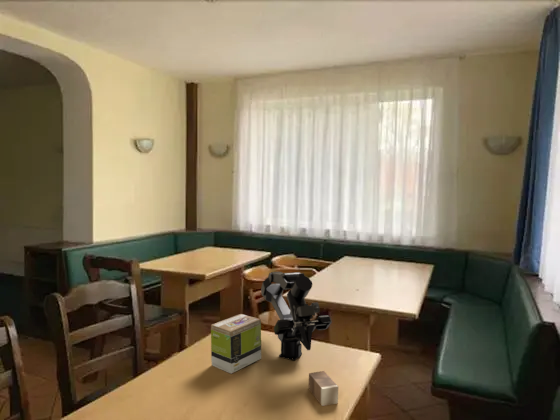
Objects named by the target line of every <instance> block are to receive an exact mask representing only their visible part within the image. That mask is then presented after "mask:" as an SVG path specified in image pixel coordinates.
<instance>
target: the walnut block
mask: <svg viewBox="0 0 560 420" xmlns="http://www.w3.org/2000/svg"><path fill="white" fill-rule="evenodd" d="M308 390H309V392H311V394H312V396H314V398H315V399H316V400H317V401H318V404H320V405H321V407H322V406H328V405H335V404H338V403H339V385H337V383H336V382H335V381H334V380H333V379H332V377H330V376H329V374H327V372H326V371H325V370H322V371H316V372H309V373H308Z"/></svg>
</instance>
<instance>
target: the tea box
mask: <svg viewBox="0 0 560 420" xmlns="http://www.w3.org/2000/svg"><path fill="white" fill-rule="evenodd" d="M261 324H262V323H261V319H260V318H257V317H253V316H249V315H246V314H243V313H240V314H236V315H234V316H231V317H229V318H226V319H223V320H220V321H218V322H216V323H212V324H211V325H210V342H211V343H210V345H211V346H210V347H211V348H210V352H211V357H210V358H211V366H212V367H214V368H216V369H219V370H221V371H224V372H225V373H228V374H234V373H235V372H237V371H239V370H241V369H243V368H245V367H248V366H249V365H252V364H253V363H255V362H257V361H259V360H261V359H262V325H261Z"/></svg>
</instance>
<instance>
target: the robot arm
mask: <svg viewBox="0 0 560 420" xmlns="http://www.w3.org/2000/svg"><path fill="white" fill-rule="evenodd" d="M312 288H313V282H312V280H311V279H310V278H309V277H308V276H306V275H305V274H304V273H303V272H302V273H301V272H299V271H297V272H295V271H293V272H282V271H271V272H269V274H268V277H266V279H264V280H263V282H262V284H261V289H260V293H261V296H262V298H264V300H265V301H267V302H269V303H271V304H272V306H273V309H274V310H275V312H276V314H277V317H278V318H279V319H278V320H277V321H276V323H275V325H274V326H273V331H274V335H276V336H277V339H278V340H279V341H280V353H279V354H278V357H279V358H283V359H285V360H292V361H296V360H297V359H298V358H300V356H301V355H303V352H302V345H303V347H304V348H305V349H306V351H311V348H312V338H313V337H312V335H313V332H314V331H315V330H317V331H324V330H327V329H328V328H329V327H330V325H331V324H332V322H333V321H332V317H331V316H330V315H327V314H326V315H318V316H317V318H316V319H314V320H313V316H316V313H320V311H321V309H320V306H319V305H320V304H319V302H316V301H315V302H312V303H311V304H310V305H309V304H308V303H306V298H307V296H308V295H309V293H310V291H311V290H312ZM284 290H288V292H287V294H286V300H285V299H284V297H283V294H284V292H285V291H284ZM286 301H287V302H288V304H287V302H286ZM288 305H289V306H288Z"/></svg>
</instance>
